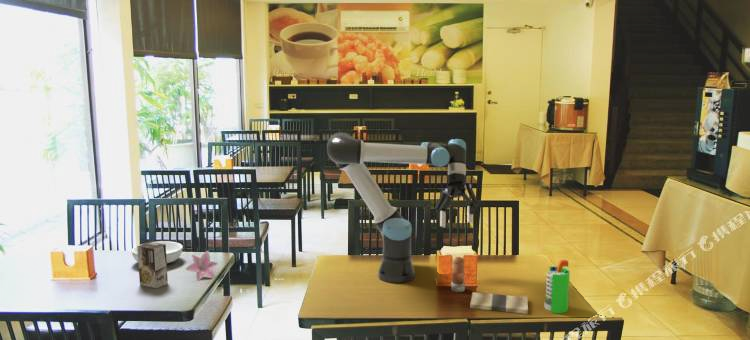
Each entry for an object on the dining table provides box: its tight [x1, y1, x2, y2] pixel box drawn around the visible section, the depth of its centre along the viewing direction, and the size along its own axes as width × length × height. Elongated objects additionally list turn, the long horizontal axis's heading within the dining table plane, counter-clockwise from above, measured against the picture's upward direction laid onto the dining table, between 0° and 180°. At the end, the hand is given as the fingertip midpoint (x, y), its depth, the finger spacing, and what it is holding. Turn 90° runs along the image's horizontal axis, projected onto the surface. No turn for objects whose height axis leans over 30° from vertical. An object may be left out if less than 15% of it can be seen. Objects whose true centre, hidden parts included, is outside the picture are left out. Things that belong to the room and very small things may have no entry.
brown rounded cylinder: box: [450, 256, 466, 293], centre depth 223 cm, size 5×5×13 cm
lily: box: [185, 250, 219, 282], centre depth 235 cm, size 12×12×10 cm
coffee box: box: [136, 241, 169, 289], centre depth 225 cm, size 9×6×16 cm
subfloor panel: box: [469, 291, 529, 315], centre depth 210 cm, size 20×12×2 cm, turn 77°
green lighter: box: [544, 259, 570, 314], centre depth 205 cm, size 9×8×18 cm
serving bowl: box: [131, 240, 184, 264], centre depth 252 cm, size 21×21×7 cm
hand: (456, 224), depth 234 cm, fingers open, 13 cm apart
